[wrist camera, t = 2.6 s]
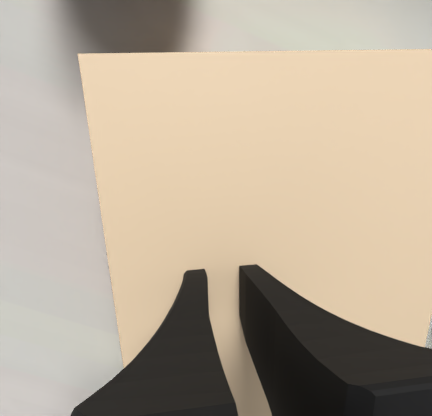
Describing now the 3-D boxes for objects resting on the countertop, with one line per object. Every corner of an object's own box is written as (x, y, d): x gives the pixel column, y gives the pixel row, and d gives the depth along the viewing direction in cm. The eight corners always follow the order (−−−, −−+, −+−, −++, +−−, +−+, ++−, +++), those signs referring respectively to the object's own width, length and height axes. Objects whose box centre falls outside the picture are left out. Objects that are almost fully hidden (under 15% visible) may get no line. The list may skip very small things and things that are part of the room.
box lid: (474, 50, 11) (489, 48, 10) (401, 409, 16) (409, 419, 15) (82, 55, 9) (77, 53, 9) (138, 451, 14) (137, 463, 14)
